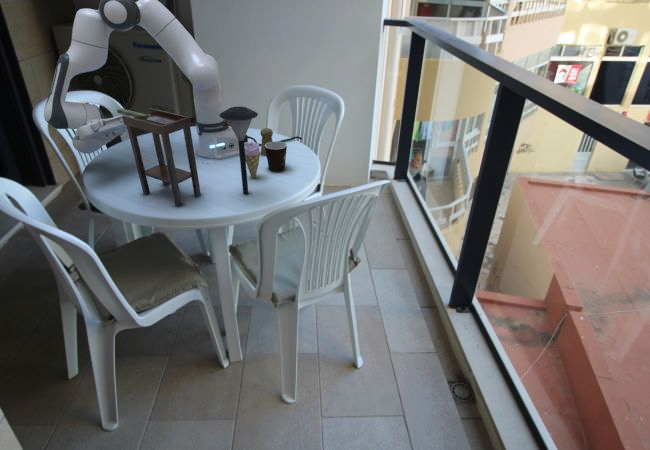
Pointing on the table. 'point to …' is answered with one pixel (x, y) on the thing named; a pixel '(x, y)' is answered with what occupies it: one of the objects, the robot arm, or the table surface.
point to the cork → (265, 139)
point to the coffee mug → (276, 155)
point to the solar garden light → (240, 133)
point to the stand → (162, 170)
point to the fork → (145, 117)
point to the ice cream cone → (252, 157)
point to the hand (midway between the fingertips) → (115, 118)
